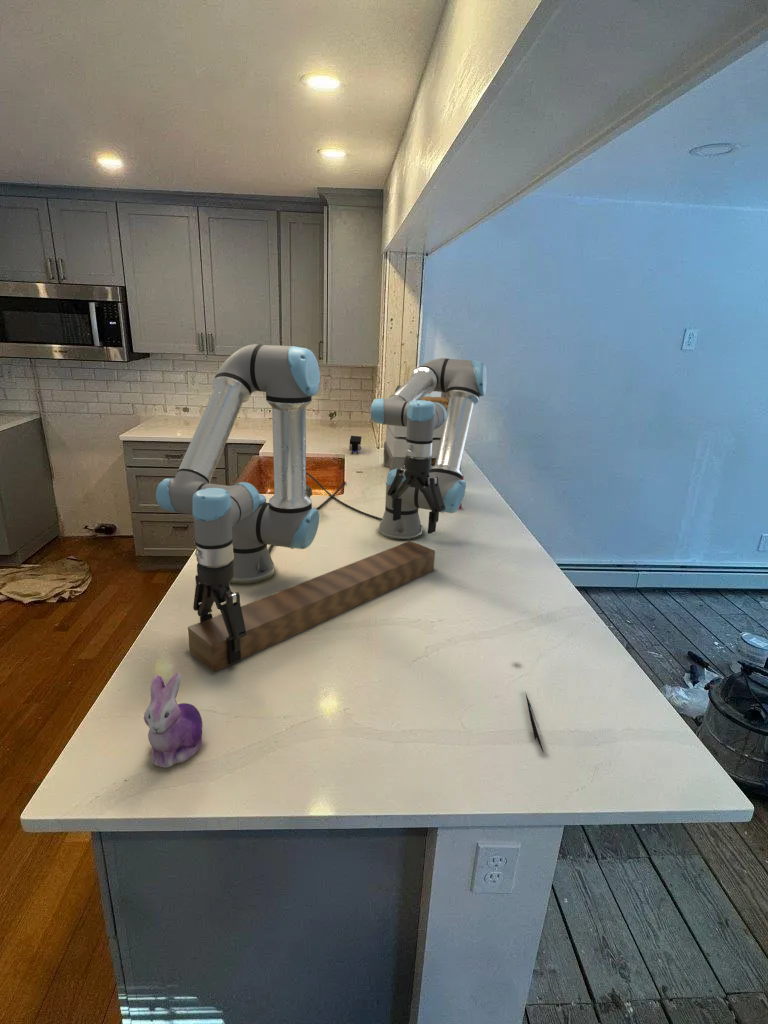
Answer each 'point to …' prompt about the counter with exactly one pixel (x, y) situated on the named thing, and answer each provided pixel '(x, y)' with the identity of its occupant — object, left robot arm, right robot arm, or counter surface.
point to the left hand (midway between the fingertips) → (220, 650)
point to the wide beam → (310, 603)
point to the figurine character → (355, 444)
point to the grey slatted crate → (397, 439)
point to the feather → (534, 723)
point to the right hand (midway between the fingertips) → (413, 525)
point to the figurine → (171, 724)
